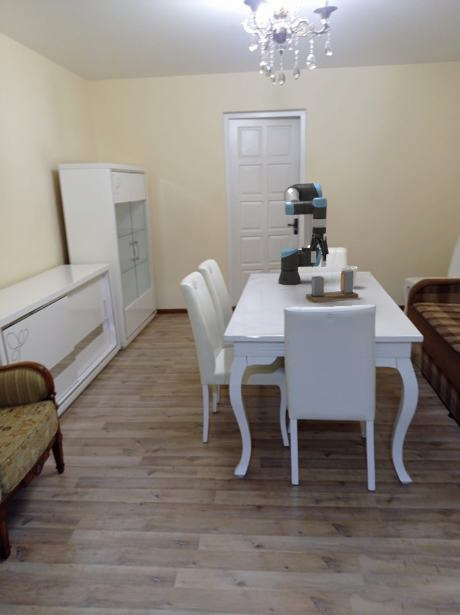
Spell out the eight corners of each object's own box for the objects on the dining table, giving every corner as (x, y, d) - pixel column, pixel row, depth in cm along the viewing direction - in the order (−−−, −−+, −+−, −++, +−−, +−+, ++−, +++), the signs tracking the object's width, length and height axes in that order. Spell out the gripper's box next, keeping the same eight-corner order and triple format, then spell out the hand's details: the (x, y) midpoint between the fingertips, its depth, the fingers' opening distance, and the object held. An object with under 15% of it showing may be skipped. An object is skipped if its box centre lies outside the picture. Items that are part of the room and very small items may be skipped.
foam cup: (355, 289, 270) (356, 269, 267) (340, 288, 274) (340, 268, 270) (357, 286, 278) (358, 266, 275) (342, 285, 282) (343, 265, 279)
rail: (306, 298, 254) (306, 294, 253) (349, 294, 259) (349, 290, 259) (313, 302, 244) (313, 298, 243) (358, 298, 250) (358, 294, 249)
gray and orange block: (311, 298, 251) (311, 276, 247) (320, 297, 252) (321, 275, 249) (314, 300, 247) (314, 278, 244) (323, 299, 249) (324, 277, 245)
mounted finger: (352, 293, 252) (353, 271, 248) (343, 294, 251) (344, 272, 247) (349, 291, 256) (350, 270, 252) (339, 292, 254) (340, 270, 251)
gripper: (304, 224, 249) (303, 261, 255) (322, 229, 226) (321, 269, 232) (316, 224, 251) (315, 260, 257) (335, 228, 227) (334, 267, 233)
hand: (318, 264), depth 244 cm, fingers open, 13 cm apart
